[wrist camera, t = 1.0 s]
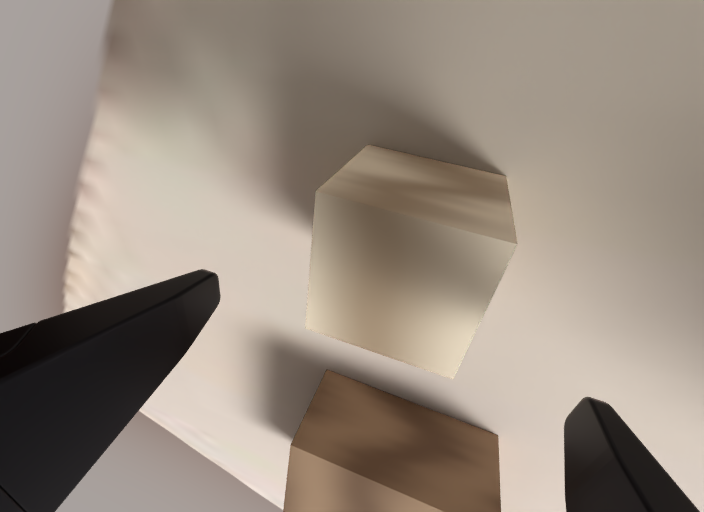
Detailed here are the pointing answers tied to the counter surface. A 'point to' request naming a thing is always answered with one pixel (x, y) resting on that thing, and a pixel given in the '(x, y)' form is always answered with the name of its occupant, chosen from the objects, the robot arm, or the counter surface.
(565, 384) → the counter surface
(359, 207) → the maple cube
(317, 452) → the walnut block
